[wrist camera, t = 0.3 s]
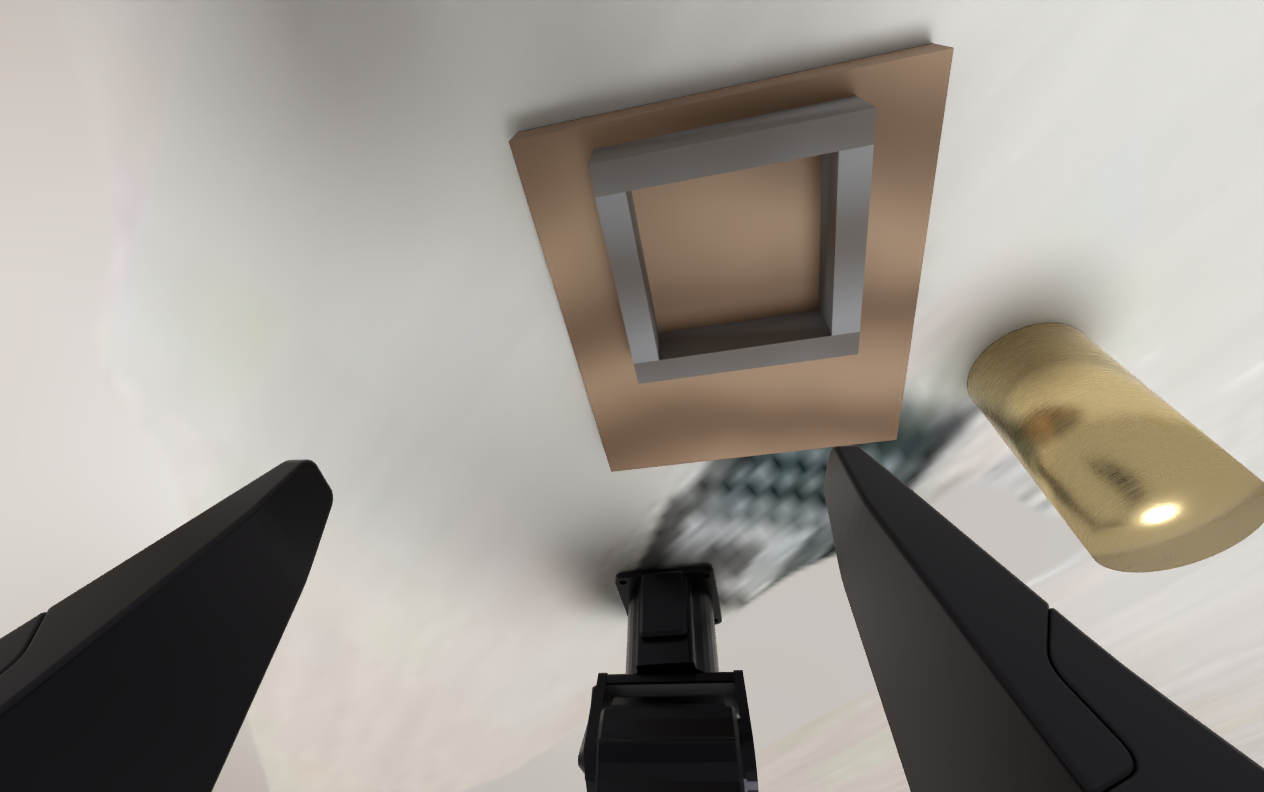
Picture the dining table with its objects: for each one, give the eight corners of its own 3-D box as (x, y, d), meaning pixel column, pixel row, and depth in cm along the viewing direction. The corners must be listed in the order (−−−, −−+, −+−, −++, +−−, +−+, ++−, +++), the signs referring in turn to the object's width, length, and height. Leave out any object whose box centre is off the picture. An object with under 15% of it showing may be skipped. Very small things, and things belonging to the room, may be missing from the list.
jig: (886, 419, 27) (912, 469, 24) (613, 451, 29) (608, 501, 26) (933, 43, 17) (986, 55, 14) (518, 131, 19) (494, 157, 16)
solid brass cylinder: (1069, 404, 26) (1228, 566, 19) (958, 417, 26) (1070, 577, 19) (1104, 314, 23) (1309, 465, 16) (978, 332, 23) (1119, 483, 16)
